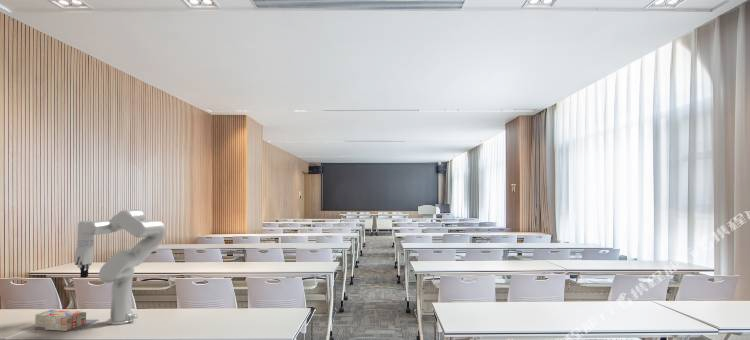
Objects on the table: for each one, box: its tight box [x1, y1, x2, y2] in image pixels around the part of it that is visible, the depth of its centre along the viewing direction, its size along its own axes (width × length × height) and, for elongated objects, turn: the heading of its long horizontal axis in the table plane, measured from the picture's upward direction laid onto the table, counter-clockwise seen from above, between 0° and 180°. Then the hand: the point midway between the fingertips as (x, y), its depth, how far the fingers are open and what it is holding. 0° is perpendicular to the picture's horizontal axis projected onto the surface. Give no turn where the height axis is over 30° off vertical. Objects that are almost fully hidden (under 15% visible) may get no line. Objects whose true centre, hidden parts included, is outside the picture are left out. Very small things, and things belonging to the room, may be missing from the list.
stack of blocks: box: [34, 309, 87, 332], centre depth 230 cm, size 21×6×12 cm
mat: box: [34, 319, 99, 331], centre depth 234 cm, size 22×16×1 cm
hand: (84, 277), depth 248 cm, fingers closed
